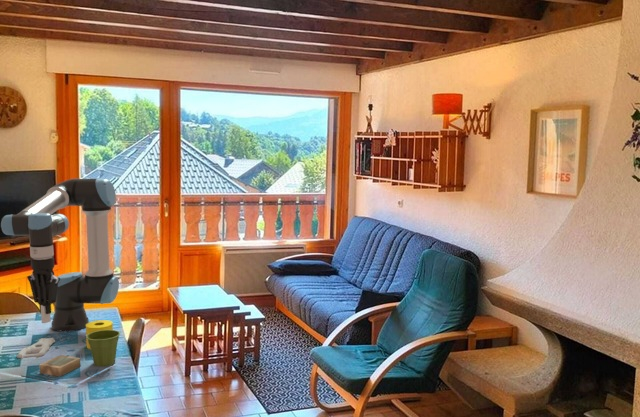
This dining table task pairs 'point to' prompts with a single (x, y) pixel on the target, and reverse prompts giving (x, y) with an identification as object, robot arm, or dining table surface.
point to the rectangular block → (60, 365)
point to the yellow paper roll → (98, 327)
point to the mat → (36, 378)
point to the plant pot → (103, 346)
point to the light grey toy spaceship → (36, 348)
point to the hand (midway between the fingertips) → (46, 322)
